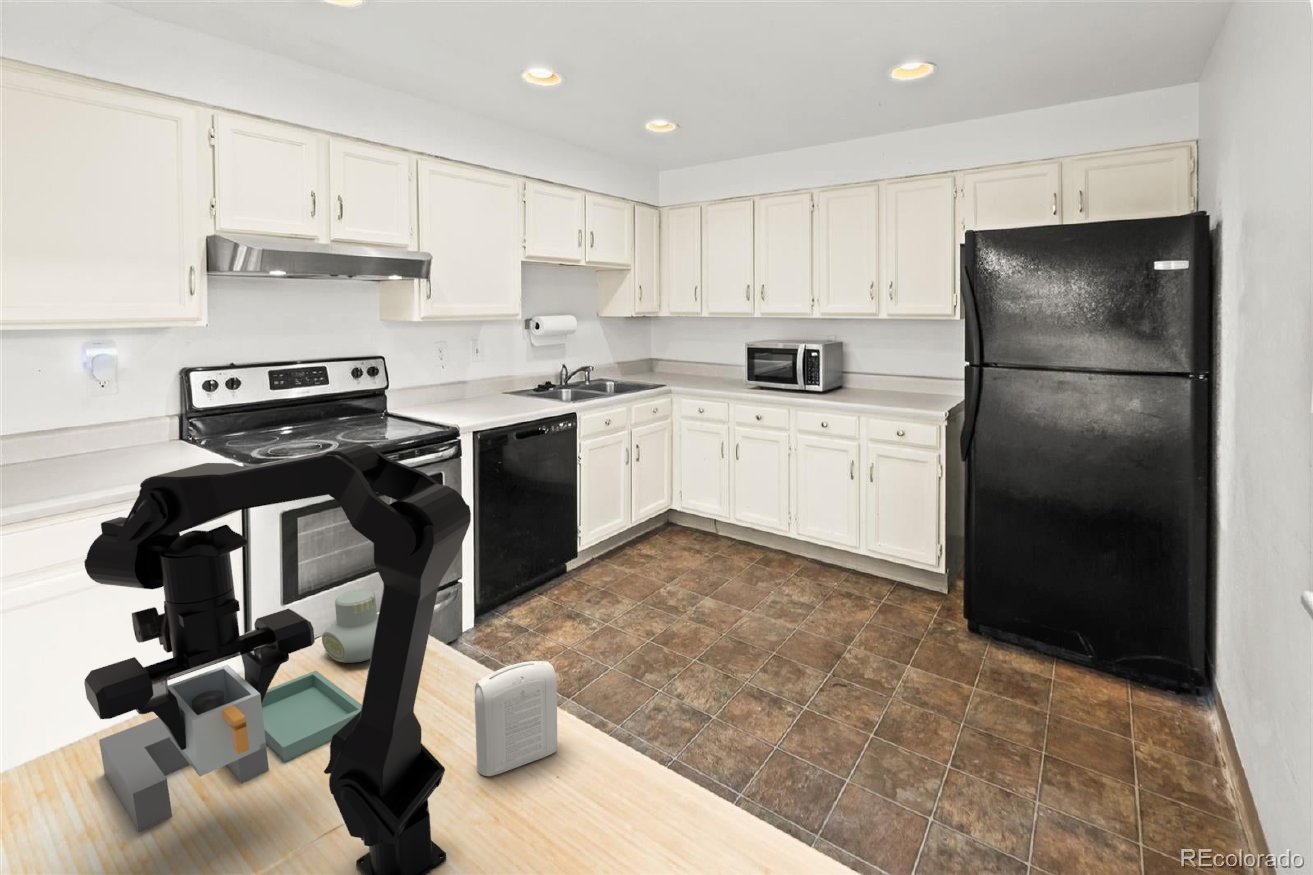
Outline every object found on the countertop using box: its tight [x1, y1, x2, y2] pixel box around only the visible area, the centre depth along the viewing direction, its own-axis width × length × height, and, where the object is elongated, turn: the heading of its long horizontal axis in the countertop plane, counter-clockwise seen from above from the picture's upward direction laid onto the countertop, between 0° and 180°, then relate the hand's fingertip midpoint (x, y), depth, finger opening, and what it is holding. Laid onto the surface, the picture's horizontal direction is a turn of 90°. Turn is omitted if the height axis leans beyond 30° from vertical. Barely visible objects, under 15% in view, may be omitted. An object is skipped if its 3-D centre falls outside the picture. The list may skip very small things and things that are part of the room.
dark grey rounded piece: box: [192, 690, 225, 715], centre depth 71 cm, size 3×3×4 cm
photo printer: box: [474, 660, 558, 777], centre depth 83 cm, size 10×4×12 cm, turn 123°
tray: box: [262, 670, 362, 764], centre depth 91 cm, size 15×11×2 cm
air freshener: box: [321, 588, 379, 664], centre depth 108 cm, size 11×8×10 cm
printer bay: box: [98, 716, 270, 833], centre depth 80 cm, size 14×13×5 cm
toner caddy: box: [168, 664, 267, 777], centre depth 69 cm, size 12×6×6 cm, turn 51°
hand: (218, 733), depth 70 cm, fingers closed on toner caddy, 6 cm apart
